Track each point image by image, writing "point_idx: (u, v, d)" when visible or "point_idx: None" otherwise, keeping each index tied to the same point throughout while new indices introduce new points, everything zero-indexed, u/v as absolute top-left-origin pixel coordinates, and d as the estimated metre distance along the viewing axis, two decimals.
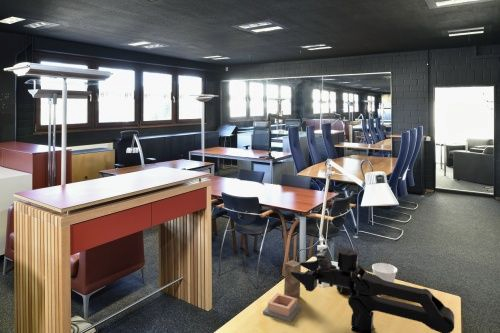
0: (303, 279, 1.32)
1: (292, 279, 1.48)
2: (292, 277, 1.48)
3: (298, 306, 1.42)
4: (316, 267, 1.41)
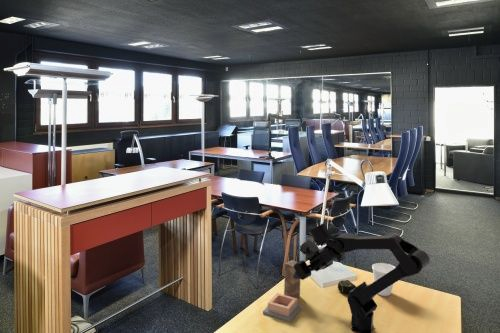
0: None
1: (292, 279, 1.48)
2: (292, 277, 1.48)
3: (298, 306, 1.42)
4: None
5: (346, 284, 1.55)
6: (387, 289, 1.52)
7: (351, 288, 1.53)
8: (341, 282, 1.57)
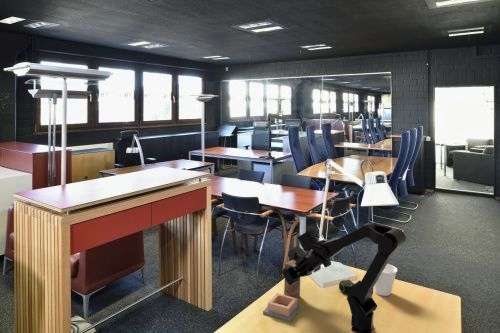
0: None
1: None
2: None
3: (298, 306, 1.42)
4: None
5: (347, 284, 1.55)
6: (387, 289, 1.52)
7: None
8: (342, 282, 1.57)
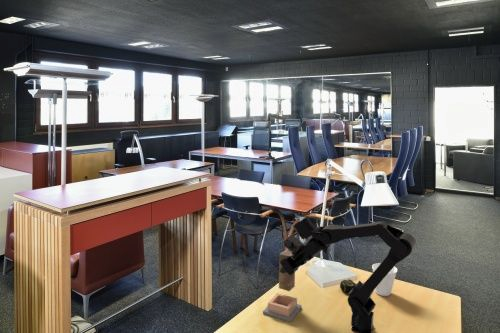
0: None
1: None
2: None
3: (298, 306, 1.42)
4: None
5: (348, 284, 1.56)
6: (387, 289, 1.52)
7: (353, 287, 1.54)
8: (343, 281, 1.57)
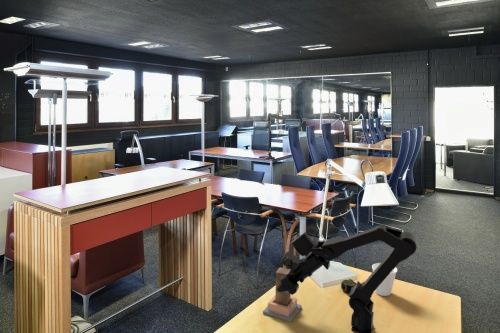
0: None
1: None
2: None
3: (298, 306, 1.42)
4: None
5: (349, 283, 1.56)
6: (387, 289, 1.52)
7: None
8: (344, 281, 1.57)
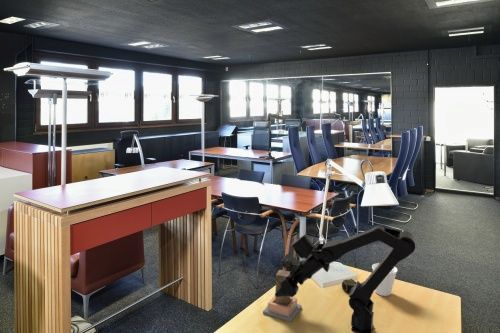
0: (285, 291, 1.33)
1: None
2: None
3: (298, 306, 1.42)
4: None
5: (350, 283, 1.56)
6: (387, 289, 1.52)
7: None
8: (345, 281, 1.58)
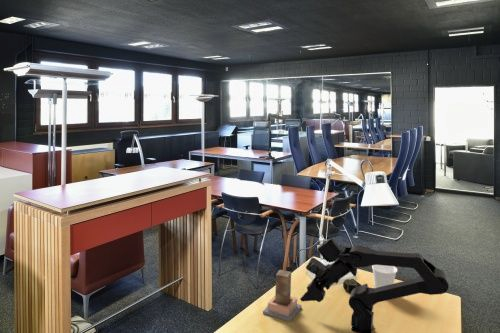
0: (312, 296, 1.30)
1: (286, 290, 1.37)
2: (286, 288, 1.37)
3: (298, 306, 1.42)
4: None
5: (351, 283, 1.56)
6: None
7: None
8: (346, 281, 1.58)
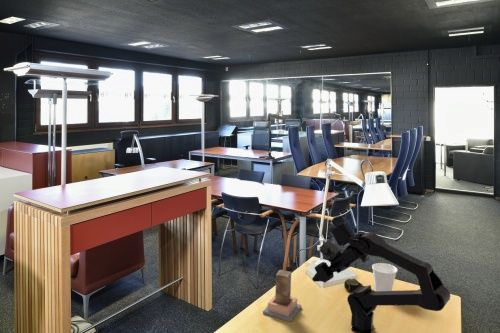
0: None
1: (286, 290, 1.37)
2: (286, 288, 1.37)
3: (298, 306, 1.42)
4: None
5: (352, 283, 1.57)
6: (387, 289, 1.52)
7: (358, 286, 1.55)
8: (348, 281, 1.58)
